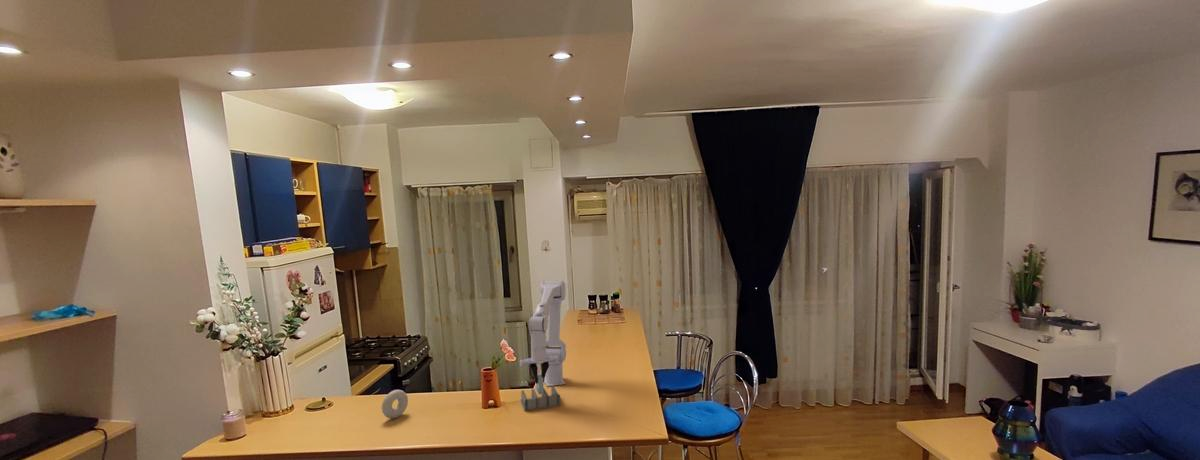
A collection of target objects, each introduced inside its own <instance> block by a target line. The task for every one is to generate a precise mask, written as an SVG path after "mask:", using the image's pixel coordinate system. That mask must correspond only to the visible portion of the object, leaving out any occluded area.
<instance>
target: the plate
mask: <svg viewBox="0 0 1200 460" xmlns="http://www.w3.org/2000/svg"><path fill="white" fill-rule="evenodd" d="M537 377H538V383H535V391H536V393H537V394H538V395H542V394H544V389H545V387H544V383H543V377H542V375H541V372H537Z"/></svg>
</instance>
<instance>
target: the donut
mask: <svg viewBox="0 0 1200 460" xmlns="http://www.w3.org/2000/svg"><path fill="white" fill-rule="evenodd" d="M395 401H398V403H397V405H396V406H395V408H393V403H394V402H395ZM408 404H409V399H408V394H407V393H406V392H405V391H404V390H402V389H393V390H391V391H390V392H389V393H388V394H386V396H385V397H384V399H383V401H382V403H381V412H382V414H383V416H384V417H385V418H388V419H391V420H392V419H397V418H398V417H400V416H402V415H403V414H404V413H405V411H406V410H407V407H408Z"/></svg>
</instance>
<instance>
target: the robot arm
mask: <svg viewBox="0 0 1200 460" xmlns="http://www.w3.org/2000/svg"><path fill="white" fill-rule="evenodd" d="M540 293H541V302H539V303H538V304H537V305H536V308H535V309H534V313H533V315H532V316H531V317H529V319H528V327H527V328H528V331H529V337H530V347H531V348H530V351H531V353H530V354H531V357H529V358H524V359H519V366H520V367H524V366H529V367H530V369H531V372H532V374H533V376H534V377H533V378H534V382H535V384H536V383H538V377H537V373H538V371H539V370H538V366H537V365H540V371H541V372H540V374H541V375H542V377H543V384H544V383H545V386H546V387H552V386H554V387H555V386H562V385H566V381H565V380H564V375H563V373H564V372H563V363H564V362H565V361H566V357H567V349H566V343H565V342H563V340H561V338H560V335H561V334H560V332H561V327H560V326H561V306H562V301H564V300H565V298H566V283H565V281H564V280H561V281H559V280H557V281H556V280H555V281H554V280H551V281H550V280H547V281H546V280H543V281H542V282H541V283H540ZM547 330H548V339H547Z"/></svg>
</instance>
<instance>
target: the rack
mask: <svg viewBox="0 0 1200 460" xmlns="http://www.w3.org/2000/svg"><path fill="white" fill-rule="evenodd" d="M550 387H551V390H550V391H551V394H550V395H548V392H547V391H546V389H545V388H544V394H541V396H538V395H537V394H538V393H537V391H536V389H534V388H531V390H530V391H531V395H530V396H531V397H527V394H526V392H525V390H521V391H520V394H521V395H520V397H521V399H520V403H521V405H522V408H523V411H524V412H527V411H529V412H530V411H534V410H543V409H549V408H556V407H561V394H559V392H558V390H557V389H556V388H555V386H550Z"/></svg>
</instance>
